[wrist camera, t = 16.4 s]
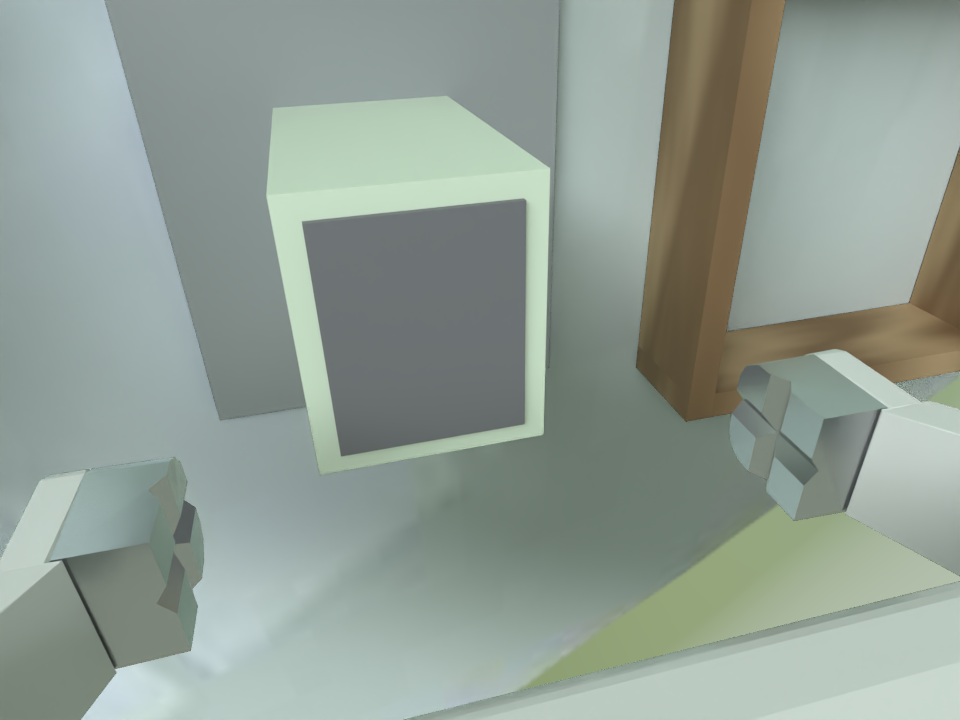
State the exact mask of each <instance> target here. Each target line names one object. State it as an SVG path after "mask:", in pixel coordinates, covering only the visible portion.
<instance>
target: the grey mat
mask: <svg viewBox="0 0 960 720" xmlns="http://www.w3.org/2000/svg"><path fill="white" fill-rule="evenodd" d="M559 2H560V0H105V4H106V7H107V11H108V15H109V18H110V22H111V26H112V29H113V33H114V37H115V40H116V44H117V47H118V51H119V55H120V58H121V62H122V66H123V69H124V73H125V77H126V80H127V84H128V88H129V91H130V95H131V99H132V102H133V106H134V109H135V113H136V117H137V120H138V124H139V128H140V131H141V135H142V139H143V142H144V146H145V150H146V153H147V157H148V161H149V164H150V168H151V171H152V175H153V179H154V182H155V186H156V190H157V193H158V197H159V201H160V204H161V208H162V212H163V215H164V219H165V223H166V226H167V230H168V233H169V237H170V241H171V244H172V248H173V252H174V255H175V259H176V263H177V266H178V270H179V274H180V277H181V281H182V284H183V288H184V292H185V295H186V299H187V303H188V306H189V310H190V314H191V317H192V321H193V325H194V328H195V332H196V336H197V339H198V343H199V346H200V350H201V354H202V357H203V361H204V365H205V368H206V372H207V376H208V379H209V383H210V387H211V390H212V394H213V398H214V401H215V405H216V408H217V412H218V416H219V419H220V420H226V419H233V418H239V417H245V416H251V415H258V414H264V413H270V412H277V411H283V410H289V409H295V408H302V407H307V406H306V401H305V395H304V390H303V385H302V380H301V374H300V369H299V364H298V359H297V354H296V348H295V343H294V338H293V333H292V327H291V322H290V317H289V312H288V306H287V301H286V296H285V291H284V286H283V280H282V275H281V270H280V265H279V259H278V254H277V249H276V244H275V239H274V233H273V228H272V223H271V218H270V212H269V207H268V202H267V197H266V192H267V179H268V166H269V152H270V139H271V126H272V113H273V108H279V107H294V106H308V105H323V104H337V103H351V102H366V101H380V100H394V99H409V98H423V97H437V96H448V97H450V98H451V99H452V100H454V101H455V102H457V103H458V104H460V105H461V106H462V107H464V108H465V109H467V110H468V111H469V112H471V113H472V114H474V115H475V116H477V117H478V118H479V119H481V120H482V121H484V122H485V123H486V124H488V125H489V126H491V127H492V128H494V129H495V130H496V131H498V132H499V133H501V134H502V135H504V136H505V137H506V138H508V139H509V140H511V141H512V142H513V143H515V144H516V145H518V146H519V147H521V148H522V149H523V150H525V151H526V152H528V153H529V154H531V155H532V156H533V157H535V158H536V159H538V160H539V161H540V162H542V163H543V164H545V165H546V166H548V167H549V168H550V198H549V237H548V277H547V316H546V356H545V369H546V368H549V351H550V316H551V281H552V246H553V211H554V176H555V141H556V107H557V72H558V37H559Z"/></svg>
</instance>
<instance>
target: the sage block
mask: <svg viewBox="0 0 960 720" xmlns="http://www.w3.org/2000/svg"><path fill="white" fill-rule="evenodd" d="M266 197H267V202H268V207H269V212H270V218H271V223H272V228H273V233H274V239H275V244H276V249H277V254H278V259H279V265H280V270H281V275H282V280H283V286H284V291H285V296H286V301H287V306H288V312H289V317H290V322H291V327H292V333H293V338H294V343H295V348H296V354H297V359H298V364H299V369H300V374H301V380H302V385H303V390H304V395H305V401H306V406H307V411H308V416H309V421H310V427H311V432H312V437H313V442H314V448H315V453H316V458H317V463H318V468H319V474H320V475H324V474H329V473H335V472H340V471H346V470H352V469H357V468H363V467H368V466H374V465H379V464H385V463H390V462H396V461H401V460H407V459H412V458H418V457H423V456H429V455H435V454H440V453H446V452H451V451H457V450H462V449H468V448H473V447H479V446H484V445H490V444H495V443H501V442H506V441H512V440H517V439H523V438H529V437H534V436H540V435H543V434H544V395H545V356H546V316H547V277H548V237H549V198H550V168H549V167H548V166H546V165H545V164H543V163H542V162H540V161H539V160H538V159H536V158H535V157H533V156H532V155H531V154H529V153H528V152H526V151H525V150H523V149H522V148H521V147H519V146H518V145H516V144H515V143H513V142H512V141H511V140H509V139H508V138H506V137H505V136H504V135H502V134H501V133H499V132H498V131H496V130H495V129H494V128H492V127H491V126H489V125H488V124H486V123H485V122H484V121H482V120H481V119H479V118H478V117H477V116H475V115H474V114H472V113H471V112H469V111H468V110H467V109H465V108H464V107H462V106H461V105H460V104H458V103H457V102H455V101H454V100H452V99H451V98H450V97H448V96H437V97H423V98H409V99H394V100H380V101H366V102H351V103H337V104H323V105H308V106H294V107H279V108H273V113H272V126H271V139H270V152H269V166H268V179H267V192H266Z"/></svg>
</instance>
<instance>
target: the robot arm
mask: <svg viewBox="0 0 960 720" xmlns="http://www.w3.org/2000/svg"><path fill="white" fill-rule="evenodd" d="M737 390H738V392H739V394H740V395H741V397H742V399H743V401H742V402H741V403H740V404H739V405H738V407H737V408H736V409H735V410H734V411H733V413H732V415H731V421H730V428H729V435H730V440H731V445H732V449H733V451H734V453H735V455H736V457H737V459H738V461H739V462H740V463H741V464H742V465H743V466H744V467H745V469H746V470H747V471H748V472H750V473H753V474H755V475H757V476H760V477H762V478H764V479H766V492H767V493H768V494H769V495H770V496H771V497H772V498H773V499H774V500H775V501H776V502H777V503H778V505H779V506H780V507H781V508H782V509H783V510H784V511H785V512H786V513H787V514H788V515H789V516H790V517H791V518H792V520H793V521H797V520H802V519H808V518H813V517H818V516H824V515H829V514H834V513H840V512H846V515H848V516H850V517H851V518H853V519H855V520H857V521H859V522H861V523H863V524H864V525H867V526H868V527H870V528H872V529H874V530H875V531H877V532H879V533H881V534H883V535H885V536H887V537H888V538H890V539H892V540H894V541H896V542H898V543H899V544H901V545H903V546H905V547H907V548H909V549H911V550H913V551H914V552H916V553H918V554H920V555H922V556H923V557H925V558H927V559H929V560H931V561H933V562H935V563H936V564H938V565H940V566H942V567H944V568H946V569H947V570H950V571H951V572H953V573H955V574H957V575H959V576H960V409H956V408H953V407H950V406H946V405H943V404H939V403H936V402H933V401H927V402H920V401H919V400H917V399H916V398H914V397H913V396H911V395H910V394H908V393H907V392H905V391H904V390H903V389H901V388H900V387H898V386H897V385H895V384H894V383H892V382H891V381H889V380H888V379H886V378H885V377H883V376H882V375H880V374H879V373H877V372H876V371H874V370H873V369H871V368H870V367H869V366H867V365H866V364H864V363H863V362H861V361H860V360H858V359H857V358H855V357H854V356H852V355H851V354H849V353H848V352H846V351H842V350H838V349H832V350H826V351H821V352H816V353H811V354H806V355H805V356H800V357H794V358H788V359H782V360H776V361H771V362H765V363H759V364H753V365H747V366H746V367H745V368H744V370H743V371H742V373H741V374H740V377H739V382H738V386H737ZM186 486H187V479H186V477H185V474H184V471H183V468H182V466H181V463H180V461H178V460H177V459H176V458H175V457H170V458H163V459H156V460H149V461H142V462H134V463H127V464H120V465H113V466H106V467H99V468H92V469H91V470H88V469H85V470H79V471H73V472H66V473H60V474H54V475H48V476H47V477H45V478H43V479H42V480H40V481H39V483H38V484H37V486H36V488H35V490H34V492H33V494H32V496H31V498H30V500H29V502H28V504H27V506H26V508H25V510H24V512H23V514H22V516H21V518H20V520H19V522H18V524H17V526H16V528H15V530H14V532H13V534H12V536H11V538H10V541H9V543H8V545H7V547H6V549H5V551H4V553H3V555H2V557H1V559H0V720H81V719H82V717H83V716H84V715H85V713H86V712H87V711H88V709H89V708H90V707H91V705H92V704H93V703H94V702H95V700H96V699H97V698H98V696H99V695H100V694H101V692H102V691H103V690H104V688H105V687H106V686H107V685H108V683H109V682H110V681H111V679H112V678H113V677H114V675H115V674H116V670H115V669H117V668H122V667H126V666H130V665H134V664H138V663H142V662H146V661H151V660H155V659H159V658H163V657H167V656H171V655H175V654H179V653H184V652H188V651H191V647H192V641H193V634H194V628H195V621H196V615H197V608H198V605H197V603H196V600H195V597H194V594H193V591H192V589H193V588H194V586H195V585H196V584H197V583H198V582H199V581H200V580H201V579H202V573H203V565H204V544H203V535H202V529H201V524H200V520H199V517H198V513H197V510H196V508H195V507H194V506H192V505H191V504H189V503H188V502H186V501H185V500H184V497H185V491H186ZM404 720H960V581H959V582H954V583H950V584H946V585H943V586H939V587H934V588H930V589H926V590H923V591H918V592H914V593H910V594H906V595H902V596H898V597H894V598H890V599H886V600H882V601H878V602H874V603H870V604H866V605H862V606H858V607H854V608H850V609H846V610H842V611H838V612H834V613H830V614H826V615H822V616H818V617H814V618H810V619H806V620H802V621H798V622H794V623H790V624H786V625H782V626H777V627H774V628H770V629H766V630H762V631H757V632H753V633H749V634H746V635H741V636H738V637H733V638H729V639H726V640H721V641H717V642H713V643H709V644H705V645H702V646H698V647H693V648H689V649H685V650H681V651H677V652H673V653H669V654H665V655H661V656H657V657H653V658H649V659H645V660H641V661H637V662H633V663H629V664H625V665H621V666H617V667H613V668H609V669H605V670H601V671H597V672H593V673H589V674H585V675H580V676H576V677H572V678H569V679H565V680H560V681H556V682H552V683H548V684H544V685H540V686H537V687H532V688H528V689H524V690H520V691H516V692H512V693H508V694H504V695H500V696H496V697H492V698H488V699H484V700H480V701H476V702H472V703H468V704H464V705H460V706H456V707H452V708H448V709H444V710H440V711H436V712H432V713H428V714H424V715H420V716H416V717H412V718H408V719H404Z"/></svg>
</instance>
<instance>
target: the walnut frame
mask: <svg viewBox="0 0 960 720" xmlns="http://www.w3.org/2000/svg"><path fill="white" fill-rule="evenodd" d="M785 1H786V0H675V2H674V11H673V21H672V30H671V40H670V49H669V59H668V68H667V78H666V87H665V97H664V106H663V116H662V125H661V135H660V144H659V154H658V163H657V173H656V182H655V192H654V201H653V211H652V220H651V230H650V239H649V249H648V258H647V268H646V277H645V287H644V296H643V306H642V315H641V325H640V334H639V344H638V353H637V363H636V367H637V369H638V370H639V371H640V372H641V373H642V374H643V375H644V376H645V377H646V378H647V380H648V381H649V382H650V383H651V384H652V385H653V386H654V387H655V388H656V389H657V390H658V392H659V393H660V394H661V395H662V396H663V397H664V398H665V399H666V400H667V401H668V403H669V404H670V405H671V406H672V407H673V408H674V409H675V410H676V411H677V412H678V413H679V415H680V416H681V417H682V418H683V419H684V420H685V421H686V422H687V421H692V420H697V419H703V418H708V417H714V416H719V415H724V414H730V413H733V411H734V410H735V409H736V408H737V407H738V405H739V404H740V403H741V402H742V401H743V399H742V397H741V395H740V394H739V392H738V390H737V386H738V382H739V377H740V374H741V373H742V371H743V370H744V368H745V367H746V366H747V365H753V364H759V363H765V362H771V361H776V360H782V359H788V358H794V357H800V356H805V355H806V354H811V353H816V352H821V351H826V350H832V349H838V350H842V351H846V352H848V353H849V354H851V355H852V356H854V357H855V358H857V359H858V360H860V361H861V362H863V363H864V364H866V365H867V366H869V367H870V368H871V369H873V370H874V371H876V372H877V373H879V374H880V375H882V376H883V377H885V378H886V379H888V380H889V381H891V382H892V383H897V382H903V381H908V380H913V379H919V378H924V377H930V376H935V375H940V374H946V373H951V372H957V371H960V150H959V153H958V156H957V159H956V162H955V165H954V168H953V171H952V174H951V177H950V180H949V183H948V186H947V189H946V192H945V195H944V199H943V202H942V205H941V208H940V211H939V214H938V217H937V220H936V223H935V226H934V229H933V232H932V235H931V238H930V241H929V244H928V247H927V250H926V254H925V257H924V260H923V263H922V266H921V269H920V272H919V275H918V278H917V281H916V284H915V287H914V290H913V293H912V296H911V299H910V302H909V303H906V304H900V305H894V306H887V307H881V308H875V309H868V310H862V311H855V312H849V313H843V314H836V315H830V316H824V317H817V318H811V319H804V320H798V321H792V322H785V323H779V324H773V325H766V326H760V327H754V328H747V329H741V330H734V331H728V332H726V330H727V325H728V319H729V314H730V308H731V302H732V297H733V291H734V286H735V280H736V274H737V269H738V263H739V258H740V252H741V247H742V241H743V235H744V230H745V224H746V219H747V213H748V208H749V202H750V196H751V191H752V185H753V180H754V174H755V168H756V163H757V157H758V152H759V146H760V141H761V135H762V129H763V124H764V118H765V113H766V107H767V101H768V96H769V90H770V85H771V79H772V74H773V68H774V62H775V57H776V51H777V46H778V40H779V35H780V29H781V23H782V18H783V12H784V7H785Z"/></svg>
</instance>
